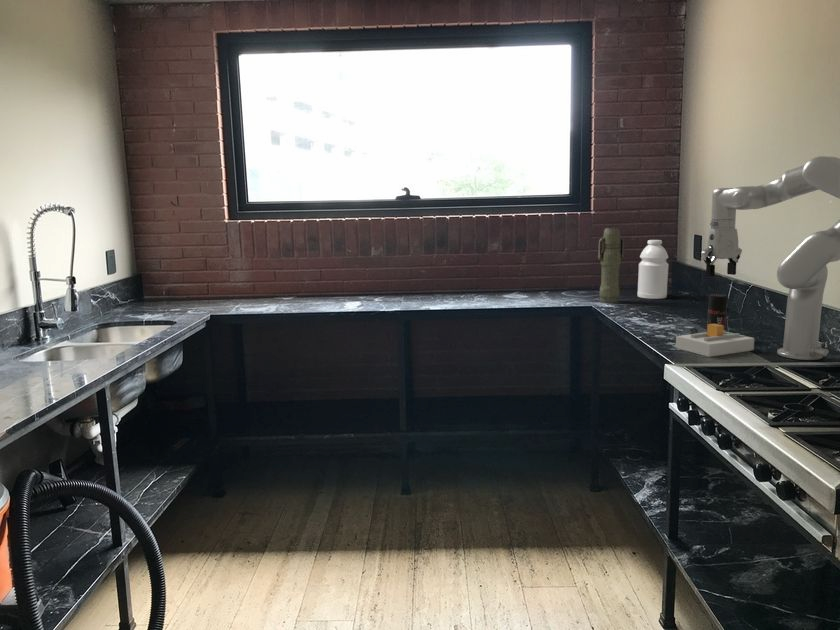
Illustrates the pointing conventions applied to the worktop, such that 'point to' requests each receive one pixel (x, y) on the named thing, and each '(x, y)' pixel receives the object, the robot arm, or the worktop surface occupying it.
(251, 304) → the worktop surface
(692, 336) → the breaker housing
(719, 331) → the block
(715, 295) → the deodorant
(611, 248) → the thermos
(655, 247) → the bottle
